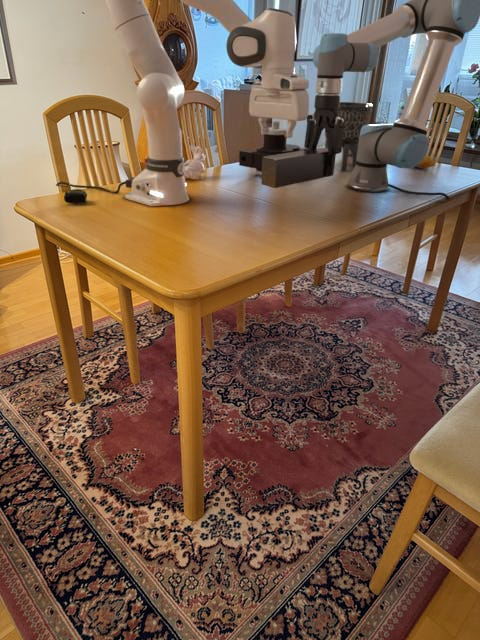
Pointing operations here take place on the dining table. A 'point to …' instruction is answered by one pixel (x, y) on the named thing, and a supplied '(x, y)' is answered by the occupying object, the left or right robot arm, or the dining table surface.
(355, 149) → the planter
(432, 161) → the toy
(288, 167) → the bar
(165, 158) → the left robot arm
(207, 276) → the dining table surface
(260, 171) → the mechanical component
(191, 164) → the figurine
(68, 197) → the tape measure
